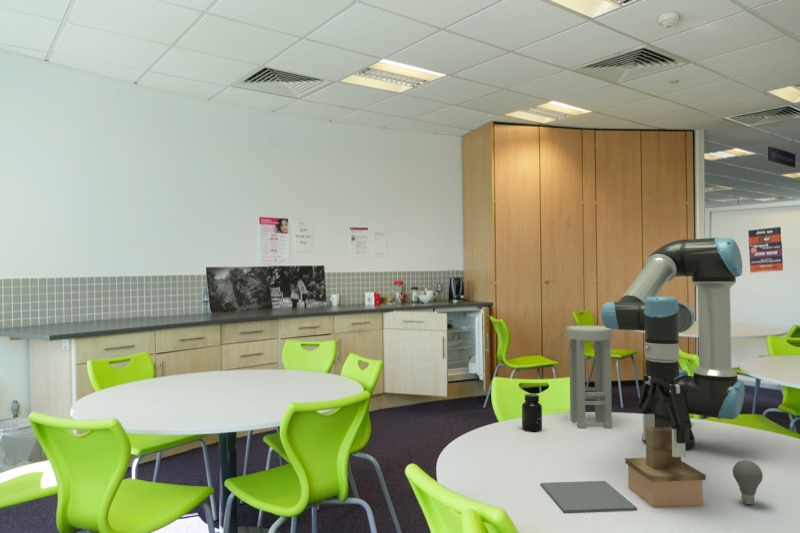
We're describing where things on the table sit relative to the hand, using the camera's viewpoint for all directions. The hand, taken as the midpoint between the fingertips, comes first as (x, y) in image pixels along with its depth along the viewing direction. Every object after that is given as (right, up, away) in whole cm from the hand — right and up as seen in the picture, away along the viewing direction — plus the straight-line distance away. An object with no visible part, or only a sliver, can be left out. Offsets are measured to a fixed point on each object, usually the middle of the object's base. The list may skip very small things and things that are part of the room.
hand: (663, 447), depth 136 cm
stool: (+5, -13, +66) cm, 68 cm away
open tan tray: (0, -12, 0) cm, 12 cm away
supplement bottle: (-18, -13, +60) cm, 64 cm away
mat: (-19, -12, 0) cm, 22 cm away
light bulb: (+17, -12, -5) cm, 22 cm away
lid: (0, -6, 0) cm, 6 cm away
